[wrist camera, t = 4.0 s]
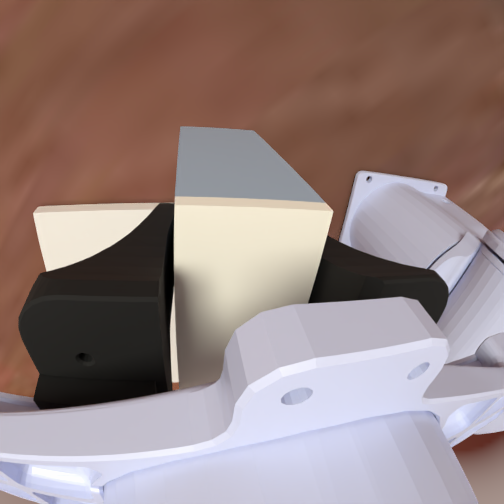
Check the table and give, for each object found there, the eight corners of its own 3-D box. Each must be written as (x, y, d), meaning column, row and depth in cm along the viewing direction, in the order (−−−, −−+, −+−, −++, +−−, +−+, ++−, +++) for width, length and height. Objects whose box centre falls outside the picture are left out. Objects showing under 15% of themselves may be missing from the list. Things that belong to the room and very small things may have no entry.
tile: (296, 205, 22) (301, 211, 21) (262, 369, 32) (264, 376, 31) (38, 206, 18) (33, 213, 17) (87, 372, 28) (86, 380, 27)
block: (253, 130, 13) (333, 211, 6) (237, 254, 16) (278, 391, 9) (180, 126, 12) (174, 205, 5) (175, 253, 15) (180, 398, 9)
